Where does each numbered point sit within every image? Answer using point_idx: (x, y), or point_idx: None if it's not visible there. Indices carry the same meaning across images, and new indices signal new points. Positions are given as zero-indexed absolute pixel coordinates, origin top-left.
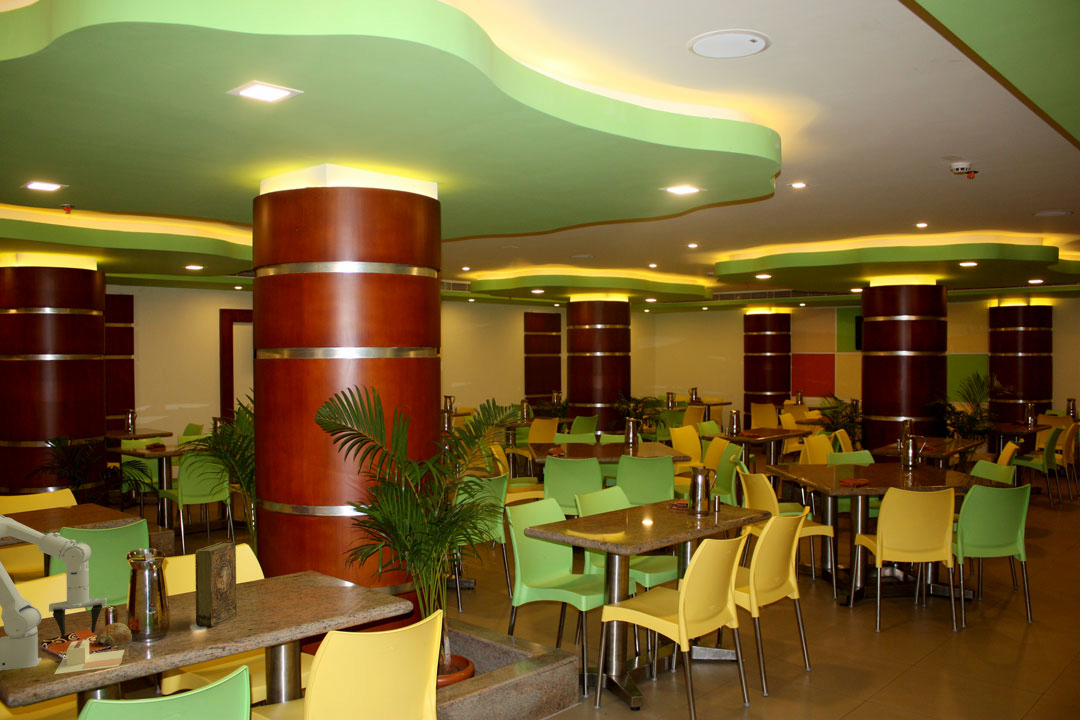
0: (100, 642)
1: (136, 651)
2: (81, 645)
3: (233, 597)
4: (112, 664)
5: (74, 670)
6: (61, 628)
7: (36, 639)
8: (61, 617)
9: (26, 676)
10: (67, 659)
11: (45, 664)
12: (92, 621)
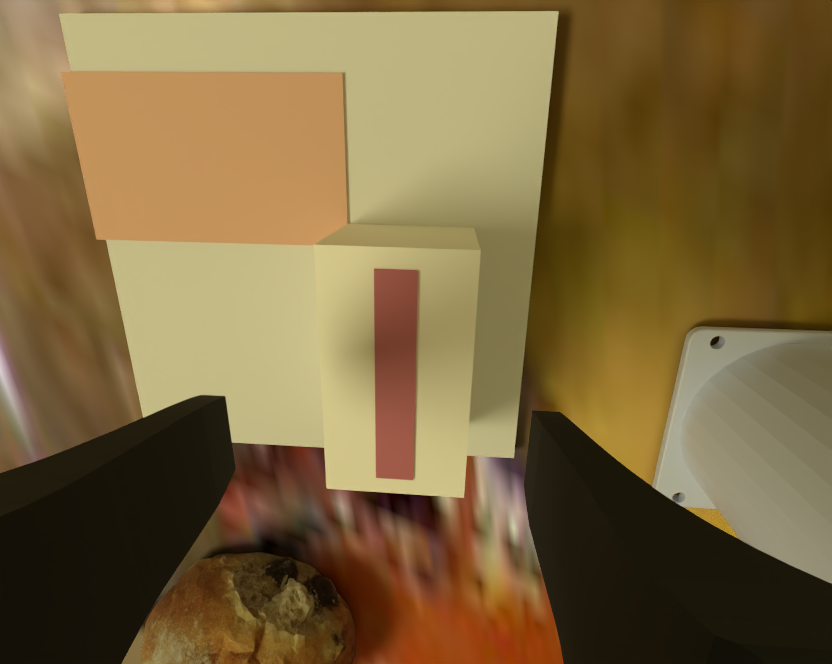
0: (318, 603)
1: (81, 404)
2: (360, 338)
3: None
4: (120, 76)
5: (401, 48)
6: (590, 453)
7: (808, 531)
8: (676, 577)
9: (765, 129)
10: (473, 233)
11: (624, 386)
12: (104, 458)
